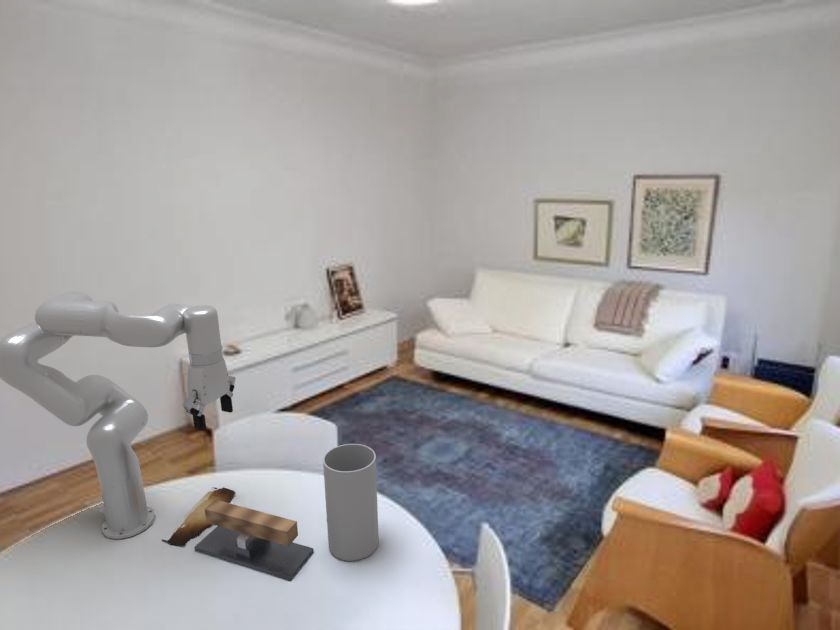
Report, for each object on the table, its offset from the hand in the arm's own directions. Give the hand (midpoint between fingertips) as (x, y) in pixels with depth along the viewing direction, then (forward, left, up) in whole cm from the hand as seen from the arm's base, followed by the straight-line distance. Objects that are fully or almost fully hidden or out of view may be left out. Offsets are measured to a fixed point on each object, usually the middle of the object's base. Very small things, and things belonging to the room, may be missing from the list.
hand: (214, 419), depth 137 cm
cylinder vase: (+36, +4, -31) cm, 47 cm away
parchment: (-8, 0, -31) cm, 32 cm away
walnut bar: (+14, -7, -24) cm, 28 cm away
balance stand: (+14, -7, -30) cm, 34 cm away
